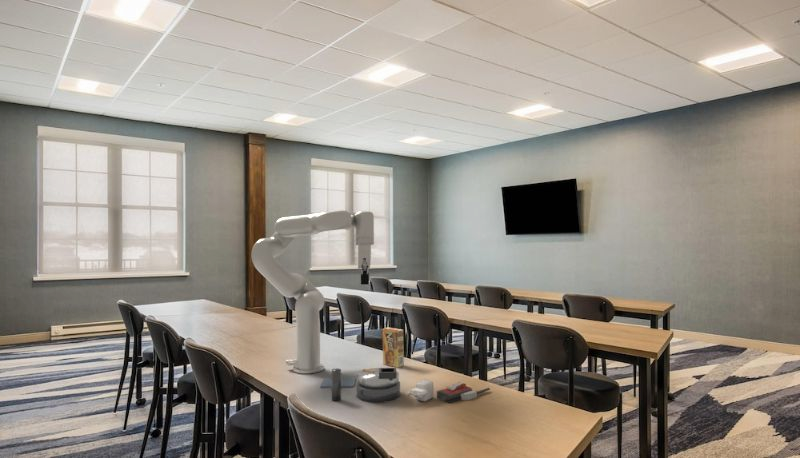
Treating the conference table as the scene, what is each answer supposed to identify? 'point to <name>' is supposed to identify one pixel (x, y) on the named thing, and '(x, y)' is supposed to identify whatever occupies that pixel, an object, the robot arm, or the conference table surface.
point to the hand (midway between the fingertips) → (364, 283)
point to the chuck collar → (378, 378)
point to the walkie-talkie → (458, 393)
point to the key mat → (344, 382)
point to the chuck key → (336, 384)
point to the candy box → (393, 347)
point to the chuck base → (378, 394)
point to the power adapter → (423, 390)
